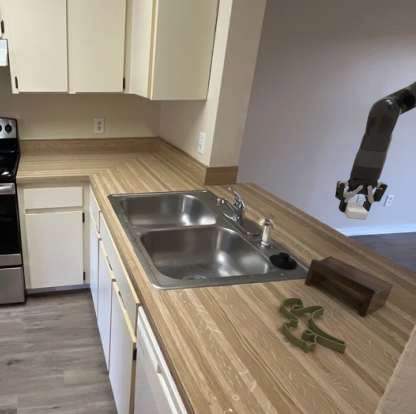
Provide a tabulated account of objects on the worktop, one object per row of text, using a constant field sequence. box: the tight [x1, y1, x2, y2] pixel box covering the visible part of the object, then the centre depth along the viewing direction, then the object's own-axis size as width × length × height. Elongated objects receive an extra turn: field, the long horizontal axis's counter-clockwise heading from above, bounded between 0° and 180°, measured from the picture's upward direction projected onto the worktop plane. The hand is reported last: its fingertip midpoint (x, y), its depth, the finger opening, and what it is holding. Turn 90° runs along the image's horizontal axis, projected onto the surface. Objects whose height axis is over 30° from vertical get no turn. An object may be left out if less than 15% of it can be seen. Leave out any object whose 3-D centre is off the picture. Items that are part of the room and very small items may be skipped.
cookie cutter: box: [280, 297, 347, 354], centre depth 82 cm, size 18×12×2 cm, turn 168°
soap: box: [342, 201, 369, 221], centre depth 110 cm, size 9×6×3 cm, turn 160°
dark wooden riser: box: [304, 255, 394, 318], centre depth 93 cm, size 10×16×8 cm, turn 27°
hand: (352, 211), depth 111 cm, fingers closed on soap, 6 cm apart
